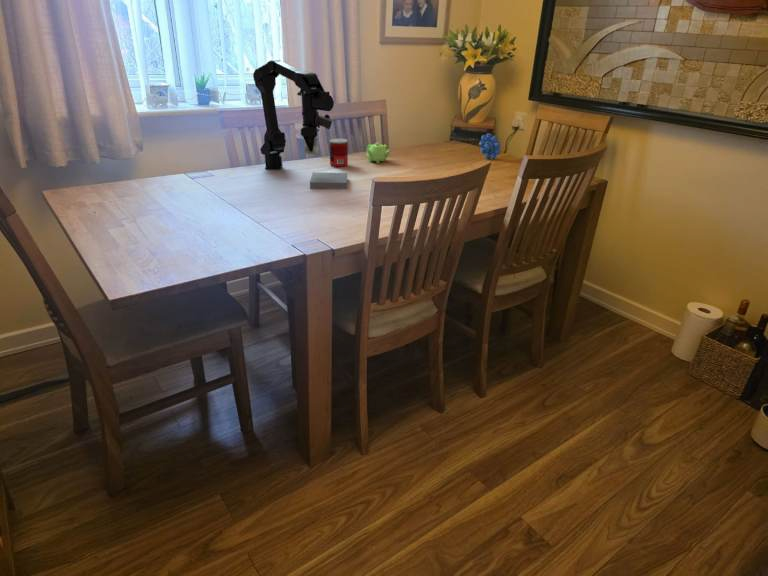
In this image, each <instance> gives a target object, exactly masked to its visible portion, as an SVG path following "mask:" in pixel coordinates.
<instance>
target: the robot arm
mask: <svg viewBox="0 0 768 576" xmlns="http://www.w3.org/2000/svg"><path fill="white" fill-rule="evenodd" d="M252 74H253V75H252V76H253V81H254V85H255V87H256V88H257V90H258V91H259V93H260V97H261V103H262V109H263V115H264V116H263V117H264V121H265V127H266V129H265V134H264V136H263V140H264V143H263V145H262V146H260V149H259V150H260V154H262V155H264V162H265V167H264V169H265V170H281V169H282V167H283V165H284V164H283V156H282V155H281V154H283V153H284V152H285V148H286V143H287V141H286V140H287V139H286V133H285V132H283V131H281V129H280V127H279V122H278V115H277V110H276V104H275V103H276V101H275V96H274V89H275V87H276V78H278V77H279V76H280V75H281V76H283V77H284V78H285V79H288V80H290V81H292V82H293V83H294V85H295V86H296V87H297V88H299V89H300V90H299V91H298V92H297V93H296V95H297V96H299V97H300V96H301V115H302V127H301V129H300V136H302V138H303V140H304V141H305V142H306V144H307V146H308V148H309V151H310V152H312V151H313V145H314V138H315V139H316V138H317V137H318V135H319V132H320V128H321V127H324V128H326V129H327V130H330V129H331V127H332V124H333V119H332V118H330V114H328V113H326V114H324V115H320V114H319V112H320V111H324V112H331V111H332V110H333V108H334V104H335V101H334V98H333V97H332V95H330V94H331V93H330V91H325V89H324V87H323V86H322V83H321V80H319V78H318V75H317V74H316V73H314V72H311V71H303V70H299V69H298V68H295V67H293V66H292V65H290V64H287V63H285V62H283V61H282V60H280V59H270V60H269V61H267V62H266V63H265V64H263V65H262V66H260V67H258V68H255V70H254V71H253V73H252Z"/></svg>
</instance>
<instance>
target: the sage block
mask: <svg viewBox="0 0 768 576" xmlns="http://www.w3.org/2000/svg"><path fill="white" fill-rule="evenodd" d="M319 151H320V149H319V138H316V137H315V138H314V145H313V151H312V152H310V151H309V148H308V146H307V144H306V142H305V140H304V154H305V155H318V154H319Z"/></svg>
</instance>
